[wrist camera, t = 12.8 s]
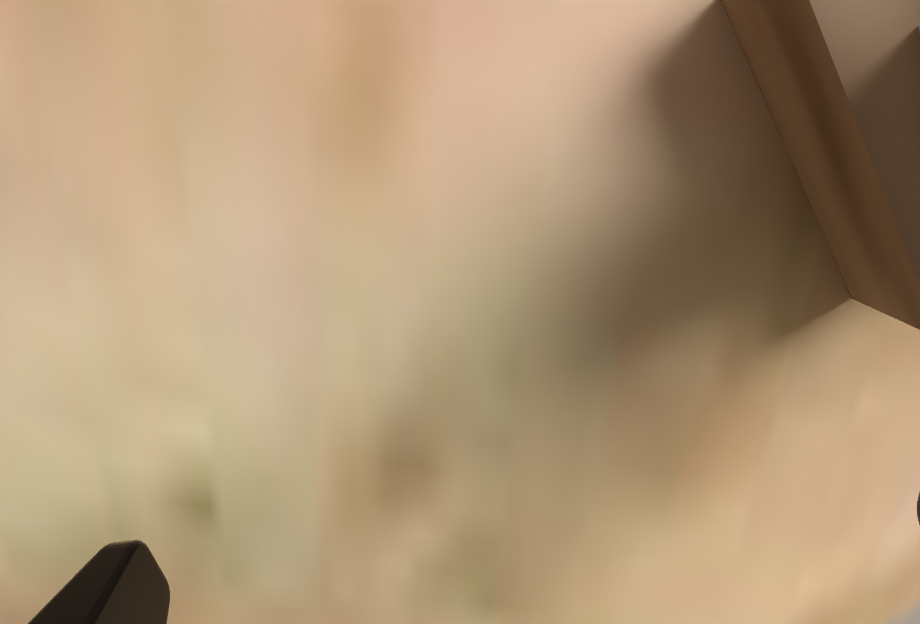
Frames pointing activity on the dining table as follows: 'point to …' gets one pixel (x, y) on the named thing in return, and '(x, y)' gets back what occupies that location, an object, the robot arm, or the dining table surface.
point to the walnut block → (849, 129)
